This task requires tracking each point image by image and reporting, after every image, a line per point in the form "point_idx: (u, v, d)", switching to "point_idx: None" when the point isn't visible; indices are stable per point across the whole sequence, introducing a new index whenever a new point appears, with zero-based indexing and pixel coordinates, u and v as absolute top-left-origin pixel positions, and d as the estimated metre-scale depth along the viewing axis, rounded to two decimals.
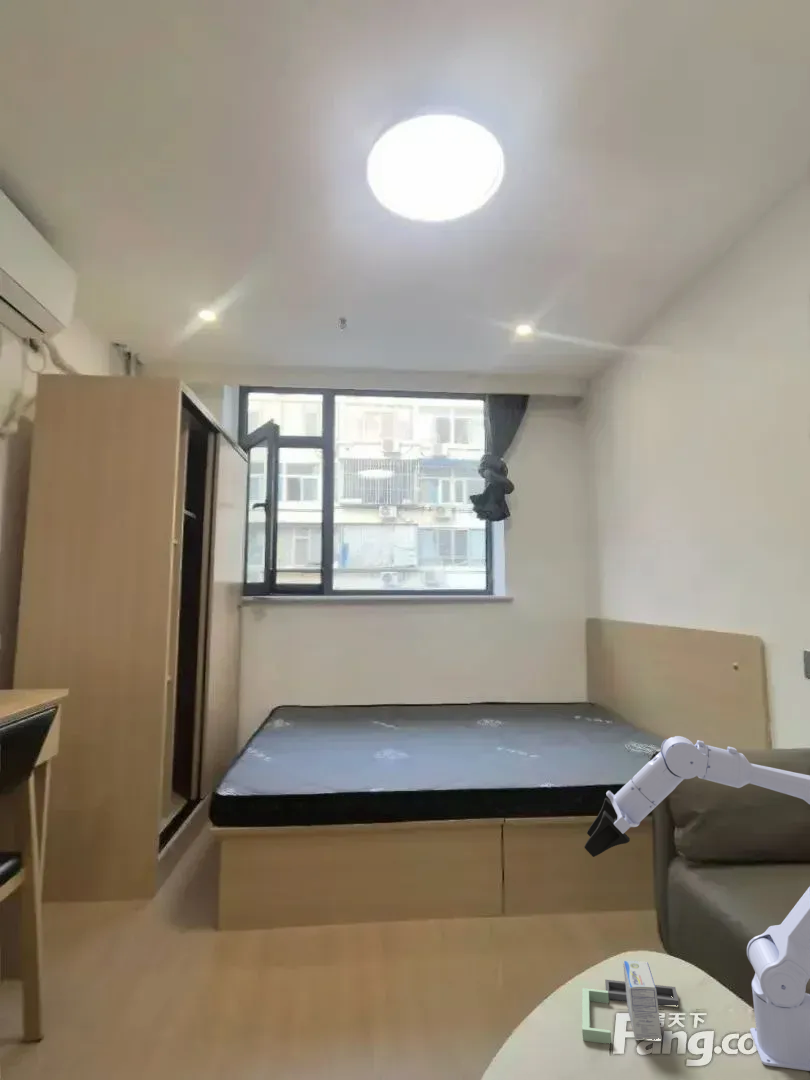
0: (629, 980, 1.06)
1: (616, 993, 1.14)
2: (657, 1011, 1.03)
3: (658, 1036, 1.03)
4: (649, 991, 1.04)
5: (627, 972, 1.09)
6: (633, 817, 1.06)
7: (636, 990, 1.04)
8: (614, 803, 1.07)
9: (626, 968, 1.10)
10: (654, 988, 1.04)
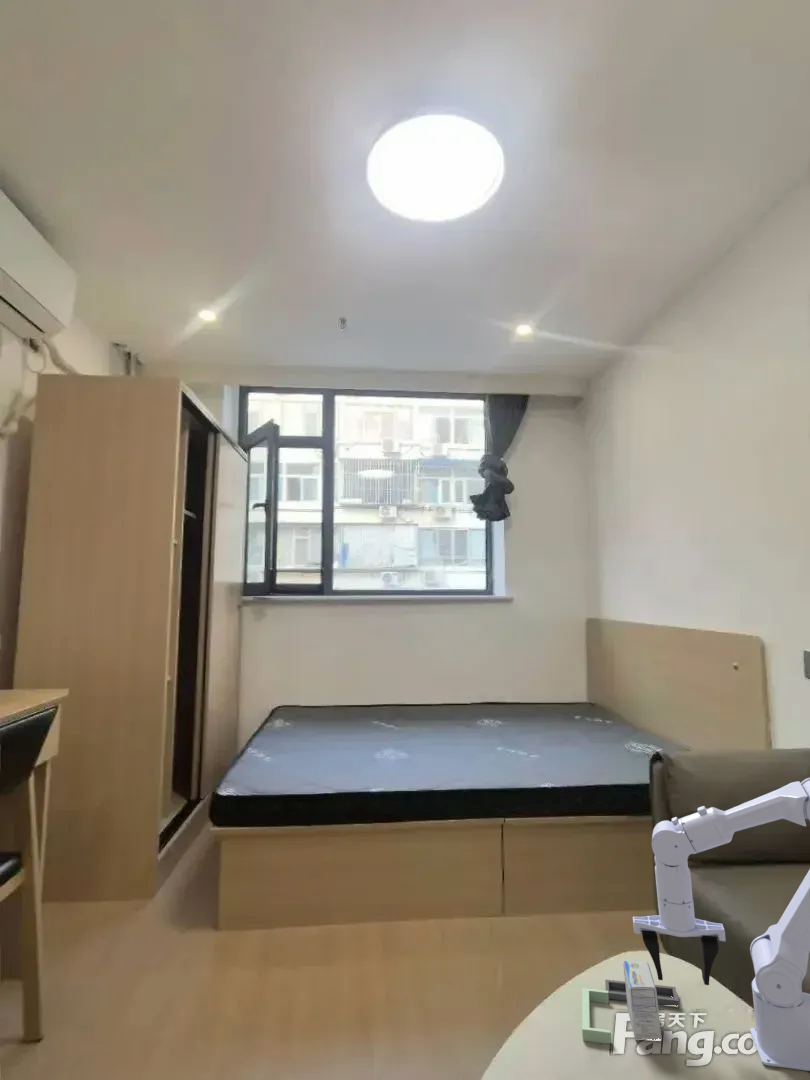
0: (629, 980, 1.06)
1: (616, 993, 1.14)
2: (657, 1011, 1.03)
3: (658, 1036, 1.03)
4: (649, 991, 1.04)
5: (627, 972, 1.09)
6: (662, 922, 1.06)
7: (636, 990, 1.04)
8: None
9: (626, 968, 1.10)
10: (654, 988, 1.04)
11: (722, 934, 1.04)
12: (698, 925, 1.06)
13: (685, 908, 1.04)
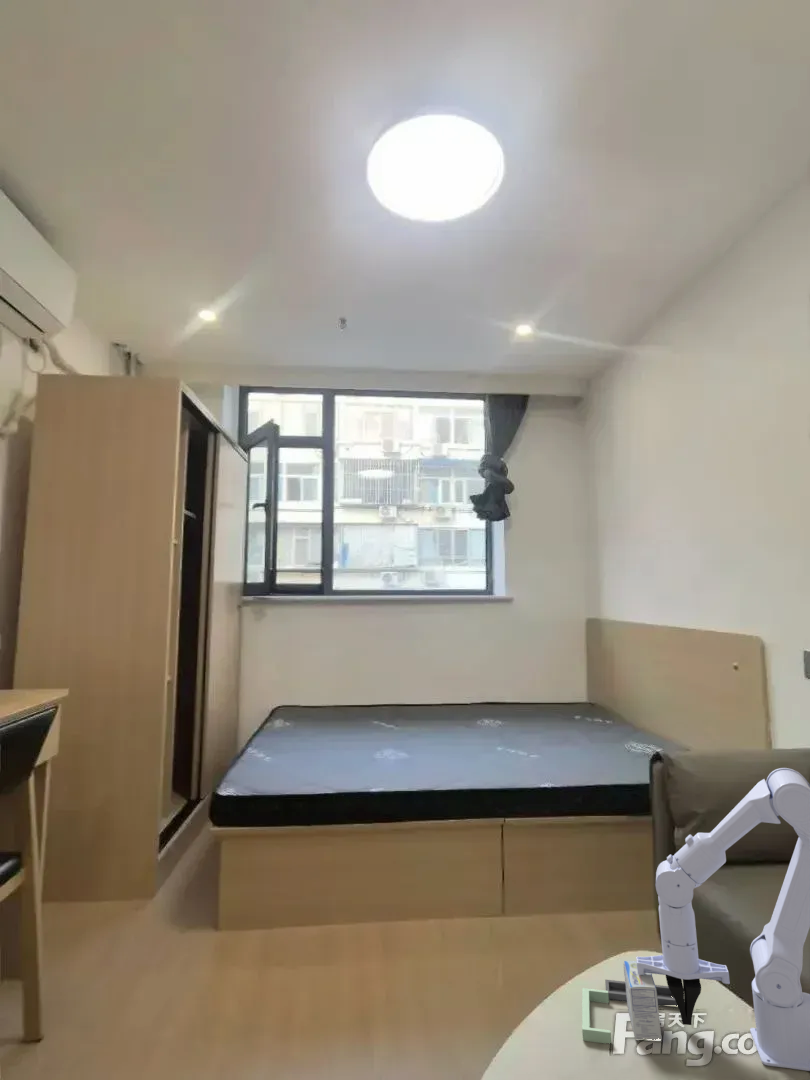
0: (629, 980, 1.06)
1: (616, 993, 1.14)
2: (657, 1011, 1.03)
3: (658, 1036, 1.03)
4: (649, 991, 1.04)
5: (627, 972, 1.09)
6: (665, 964, 1.06)
7: (636, 990, 1.04)
8: None
9: (626, 968, 1.10)
10: (654, 988, 1.04)
11: (726, 977, 1.03)
12: (702, 967, 1.05)
13: (689, 950, 1.04)
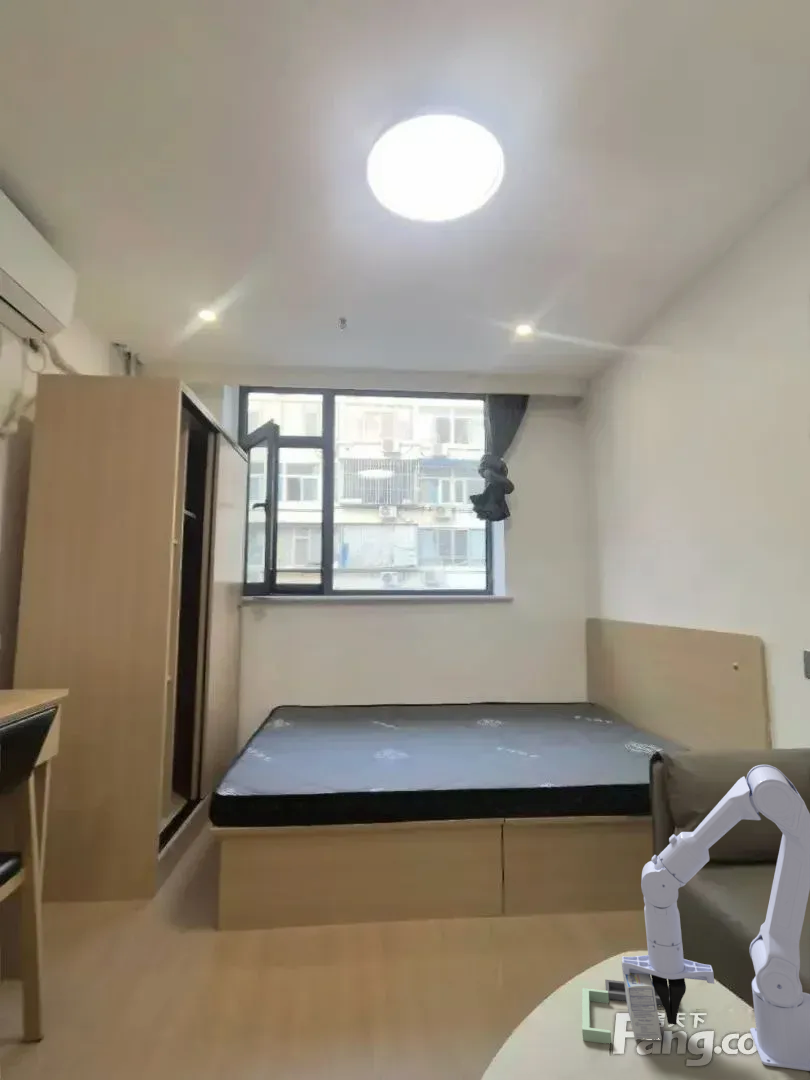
0: (627, 980, 1.06)
1: (616, 993, 1.14)
2: (656, 1010, 1.03)
3: (658, 1035, 1.03)
4: (647, 990, 1.04)
5: None
6: (651, 964, 1.06)
7: (634, 989, 1.04)
8: None
9: None
10: (652, 987, 1.04)
11: (711, 976, 1.04)
12: (687, 966, 1.06)
13: (674, 950, 1.04)
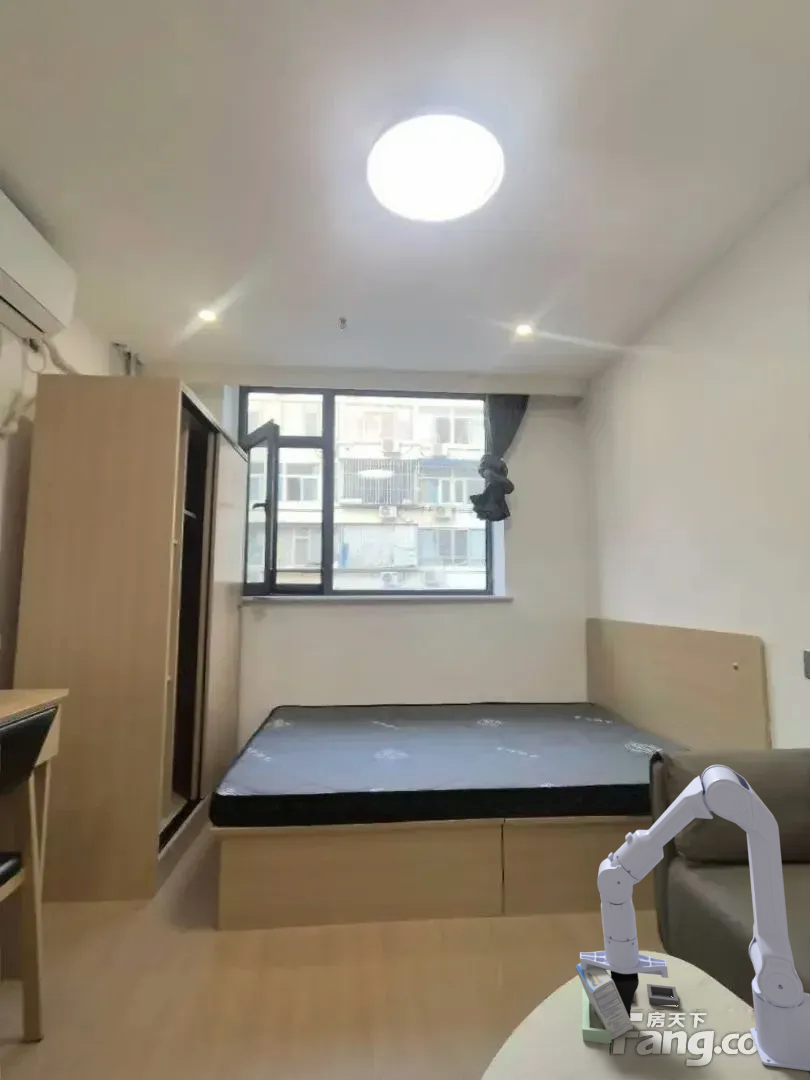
0: (588, 984, 1.06)
1: None
2: (621, 1001, 1.05)
3: (629, 1024, 1.04)
4: (609, 986, 1.05)
5: (583, 976, 1.09)
6: (607, 959, 1.09)
7: (598, 991, 1.05)
8: None
9: (580, 972, 1.10)
10: (611, 981, 1.05)
11: (665, 971, 1.06)
12: (642, 961, 1.08)
13: (628, 945, 1.07)
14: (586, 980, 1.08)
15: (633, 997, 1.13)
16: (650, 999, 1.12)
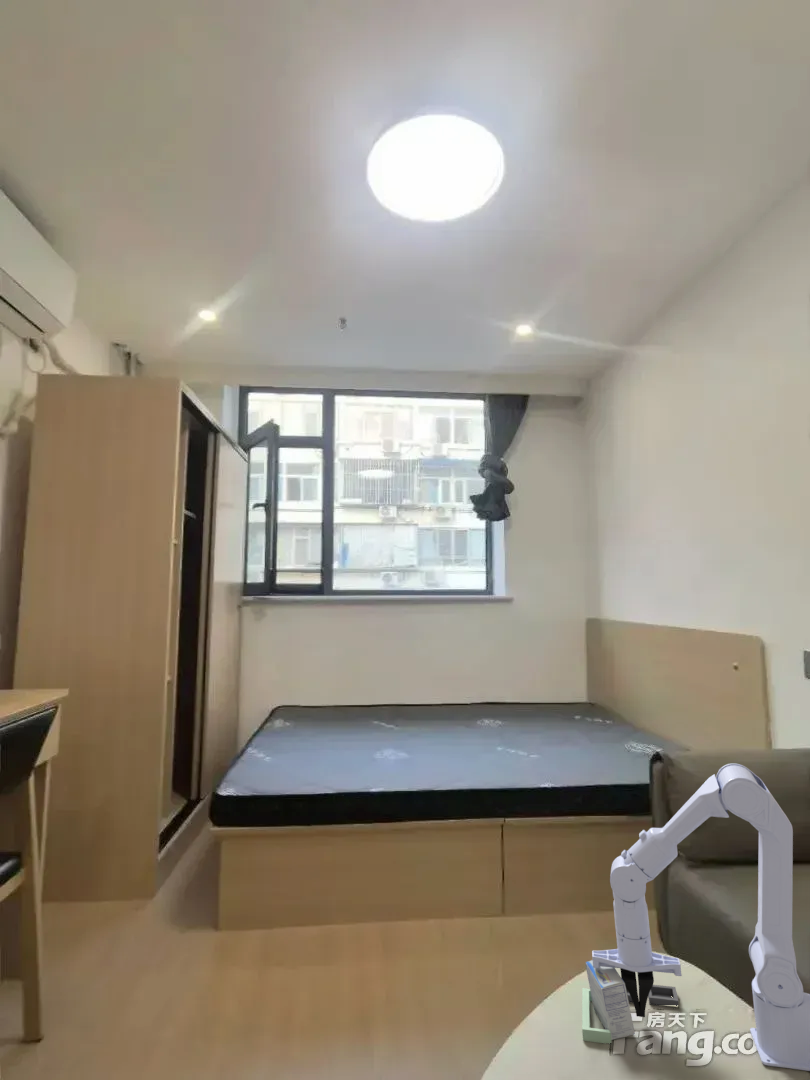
0: (598, 981, 1.07)
1: None
2: (628, 1005, 1.05)
3: (631, 1030, 1.04)
4: (619, 987, 1.05)
5: (593, 973, 1.09)
6: (619, 957, 1.08)
7: (607, 989, 1.05)
8: None
9: (590, 969, 1.10)
10: (623, 982, 1.05)
11: (678, 969, 1.05)
12: (655, 960, 1.07)
13: (642, 943, 1.06)
14: (596, 977, 1.08)
15: None
16: (650, 999, 1.12)
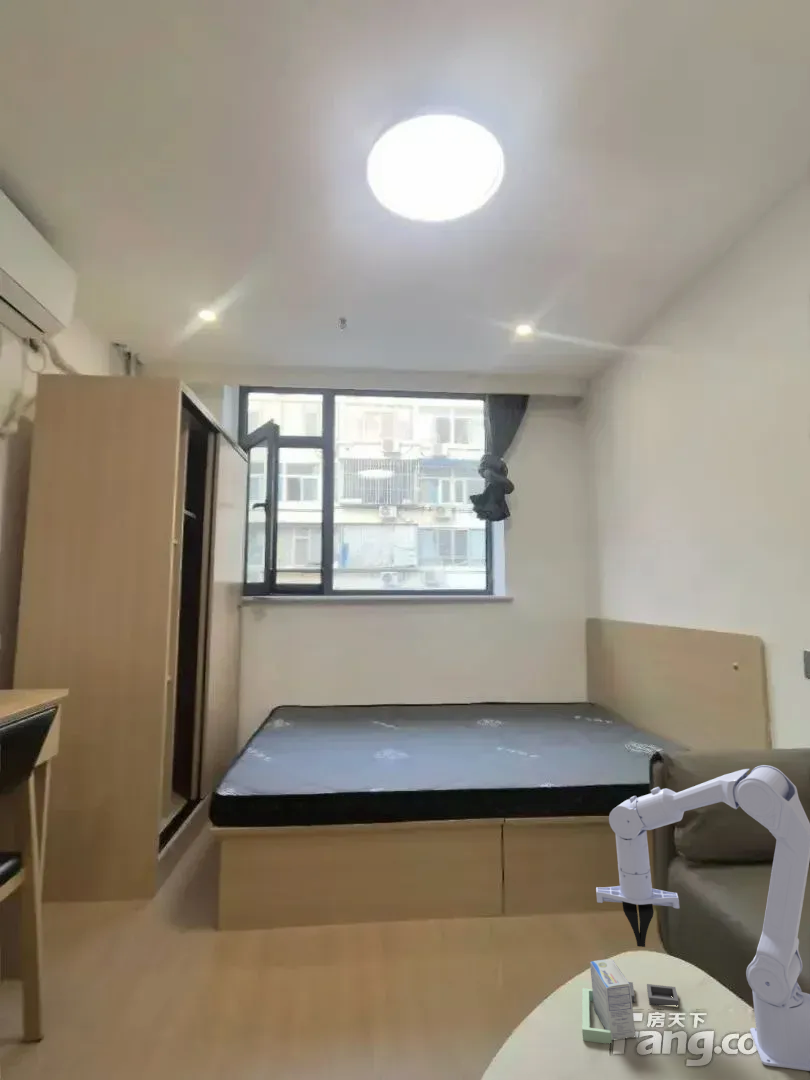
0: (603, 980, 1.07)
1: None
2: (632, 1007, 1.05)
3: (632, 1032, 1.04)
4: (624, 988, 1.05)
5: (598, 972, 1.09)
6: (622, 892, 1.16)
7: (612, 989, 1.05)
8: None
9: (595, 968, 1.10)
10: (628, 984, 1.05)
11: (676, 902, 1.13)
12: (655, 894, 1.15)
13: (642, 878, 1.14)
14: (601, 976, 1.08)
15: (633, 997, 1.13)
16: (650, 999, 1.12)
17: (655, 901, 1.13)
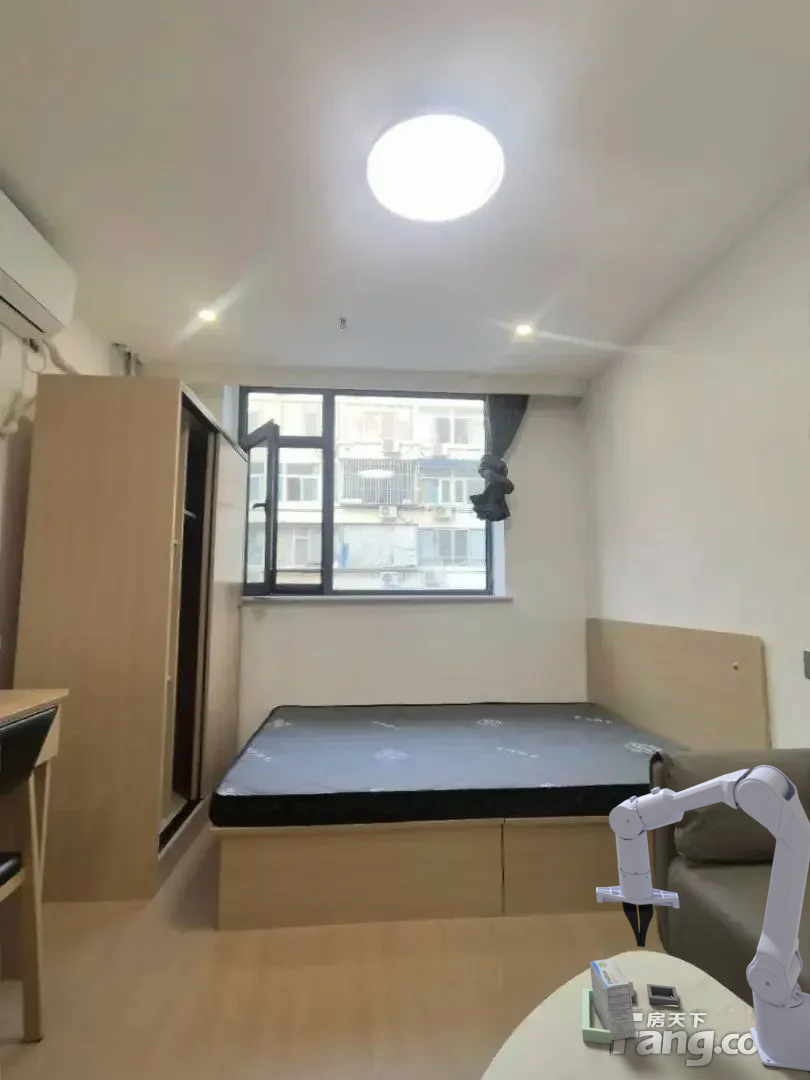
0: (603, 980, 1.07)
1: None
2: (632, 1007, 1.05)
3: (632, 1032, 1.04)
4: (624, 988, 1.05)
5: (598, 972, 1.09)
6: (622, 892, 1.16)
7: (612, 989, 1.05)
8: None
9: (595, 968, 1.10)
10: (628, 984, 1.05)
11: (676, 902, 1.13)
12: (655, 894, 1.15)
13: (642, 878, 1.14)
14: (601, 976, 1.08)
15: (633, 997, 1.13)
16: (650, 999, 1.12)
17: (655, 901, 1.13)
